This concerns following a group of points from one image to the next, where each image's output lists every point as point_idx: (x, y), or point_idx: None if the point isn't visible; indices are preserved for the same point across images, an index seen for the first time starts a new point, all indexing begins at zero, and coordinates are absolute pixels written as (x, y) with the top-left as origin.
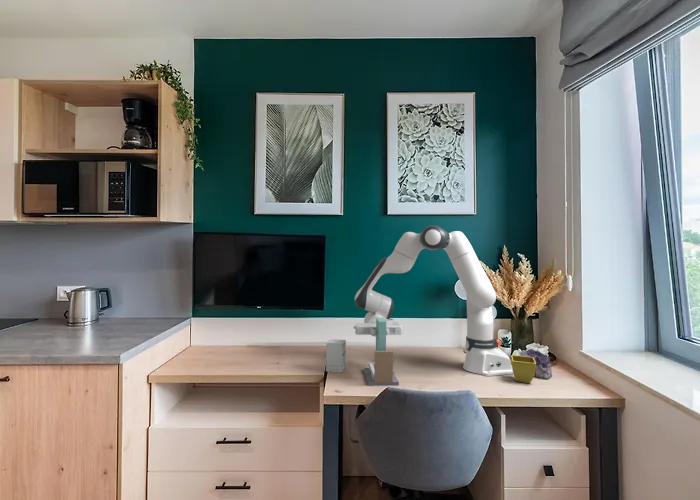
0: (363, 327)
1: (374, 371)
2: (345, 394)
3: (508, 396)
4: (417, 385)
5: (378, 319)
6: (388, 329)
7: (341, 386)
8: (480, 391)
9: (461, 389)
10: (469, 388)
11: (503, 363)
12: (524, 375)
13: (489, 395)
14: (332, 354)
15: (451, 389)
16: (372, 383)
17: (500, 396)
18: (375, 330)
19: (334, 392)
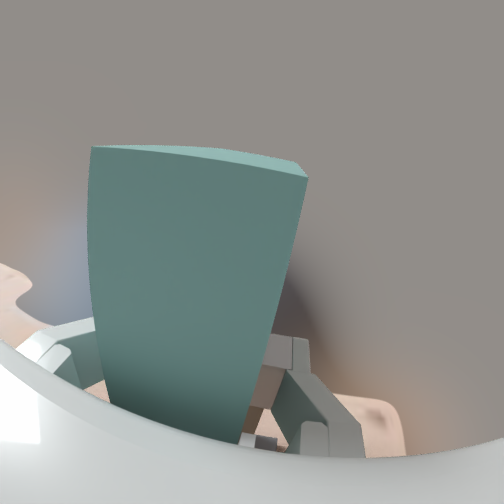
0: (470, 449)
1: (257, 423)
2: (354, 397)
3: (9, 269)
4: (94, 385)
5: (278, 162)
6: (63, 325)
7: (371, 449)
8: (14, 295)
9: (28, 316)
10: (11, 310)
11: None
12: None
13: (23, 282)
14: None
15: (44, 326)
16: (260, 437)
17: (16, 274)
18: (280, 352)
19: (384, 411)
